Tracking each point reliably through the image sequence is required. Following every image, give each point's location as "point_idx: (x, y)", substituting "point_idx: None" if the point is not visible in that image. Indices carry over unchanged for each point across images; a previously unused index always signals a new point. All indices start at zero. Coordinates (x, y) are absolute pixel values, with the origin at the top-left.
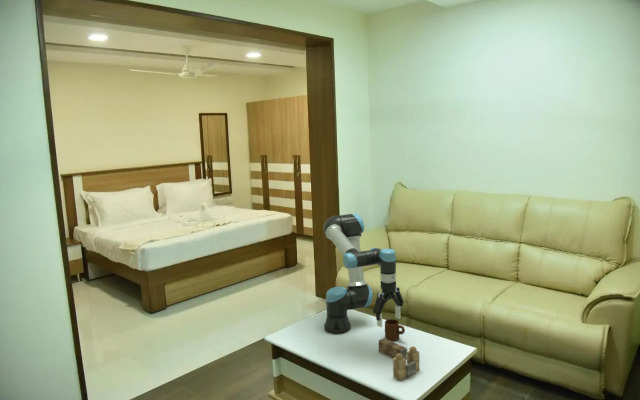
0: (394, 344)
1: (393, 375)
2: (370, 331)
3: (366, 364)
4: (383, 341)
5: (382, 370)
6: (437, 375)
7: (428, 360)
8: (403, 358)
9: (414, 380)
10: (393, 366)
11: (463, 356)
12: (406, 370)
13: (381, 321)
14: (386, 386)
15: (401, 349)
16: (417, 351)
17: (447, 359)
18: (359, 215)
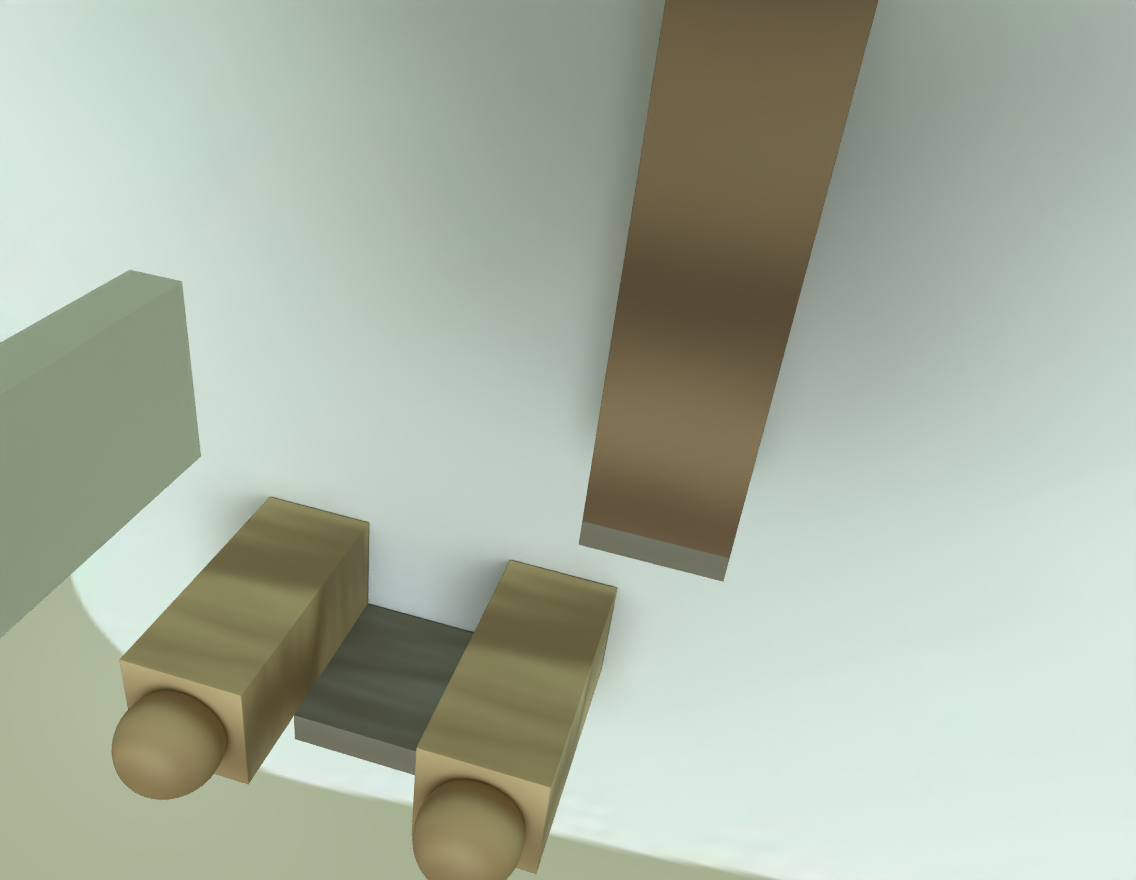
0: (720, 353)
1: (257, 512)
2: None
3: (225, 32)
4: (705, 80)
5: (284, 323)
6: (624, 824)
7: (895, 691)
8: (231, 760)
9: None
10: (189, 587)
11: None
12: (327, 670)
13: (36, 569)
14: None
15: (620, 532)
16: (524, 855)
17: (1051, 852)
18: None
